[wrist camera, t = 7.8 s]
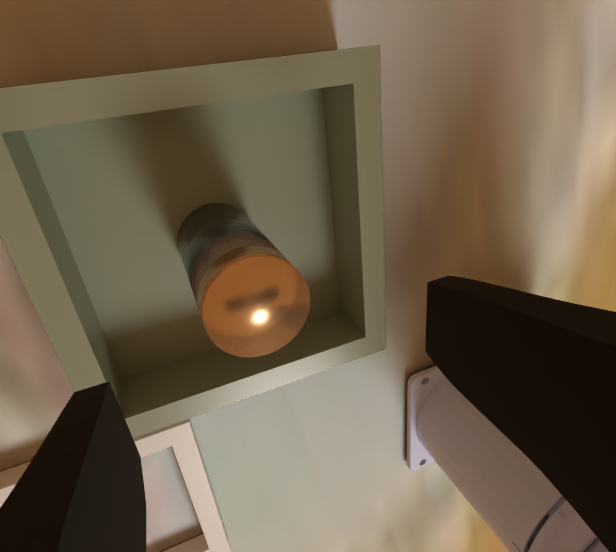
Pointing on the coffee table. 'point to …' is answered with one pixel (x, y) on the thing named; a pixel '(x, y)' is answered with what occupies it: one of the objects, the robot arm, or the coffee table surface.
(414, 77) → the coffee table surface
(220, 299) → the cylinder
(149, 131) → the bin
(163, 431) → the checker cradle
